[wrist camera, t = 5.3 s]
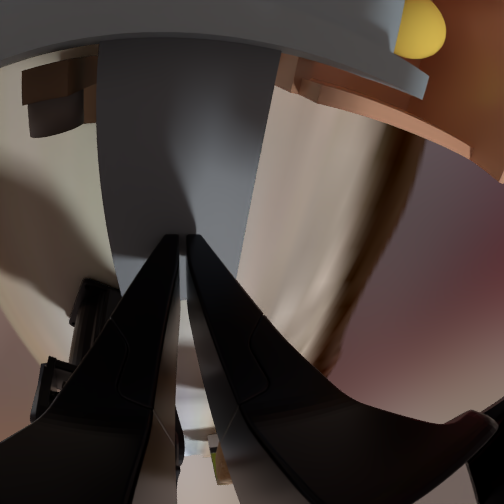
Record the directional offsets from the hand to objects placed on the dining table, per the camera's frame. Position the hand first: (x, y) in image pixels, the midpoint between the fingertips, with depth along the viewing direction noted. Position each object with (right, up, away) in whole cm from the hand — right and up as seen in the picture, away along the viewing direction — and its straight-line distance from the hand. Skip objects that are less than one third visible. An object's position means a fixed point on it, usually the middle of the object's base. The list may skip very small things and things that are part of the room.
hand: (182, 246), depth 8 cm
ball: (+9, +10, 0) cm, 14 cm away
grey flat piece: (-4, +4, -5) cm, 7 cm away
